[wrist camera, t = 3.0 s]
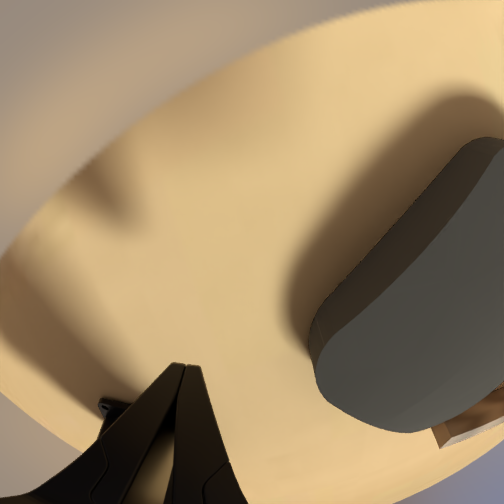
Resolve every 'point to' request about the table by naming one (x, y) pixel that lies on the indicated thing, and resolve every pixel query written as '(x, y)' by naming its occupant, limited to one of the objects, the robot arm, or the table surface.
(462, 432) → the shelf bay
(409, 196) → the table surface
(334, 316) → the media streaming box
